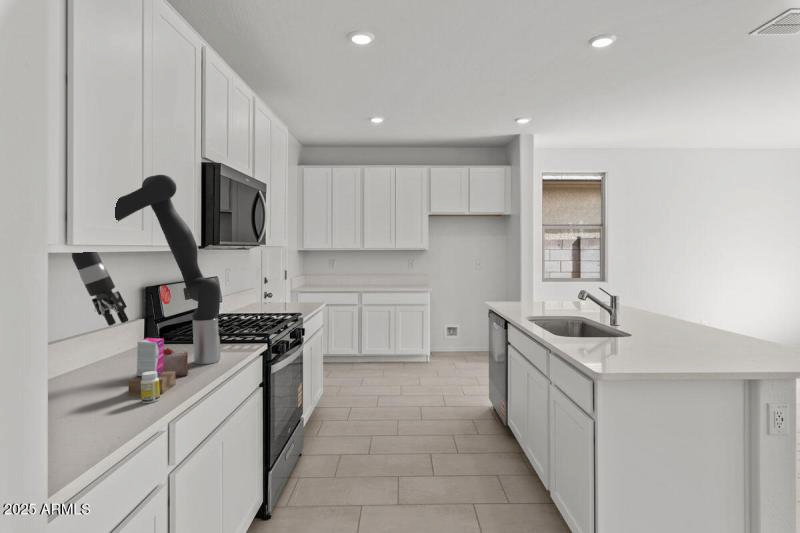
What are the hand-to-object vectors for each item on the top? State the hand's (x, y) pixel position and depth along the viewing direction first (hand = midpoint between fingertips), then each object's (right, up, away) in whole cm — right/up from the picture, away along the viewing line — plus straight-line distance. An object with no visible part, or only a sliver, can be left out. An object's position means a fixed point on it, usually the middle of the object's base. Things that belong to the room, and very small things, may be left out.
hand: (118, 323), depth 151 cm
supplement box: (+15, -16, -7) cm, 23 cm away
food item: (+12, -20, +9) cm, 25 cm away
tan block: (+15, -21, -7) cm, 27 cm away
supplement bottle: (+21, -21, -18) cm, 34 cm away
